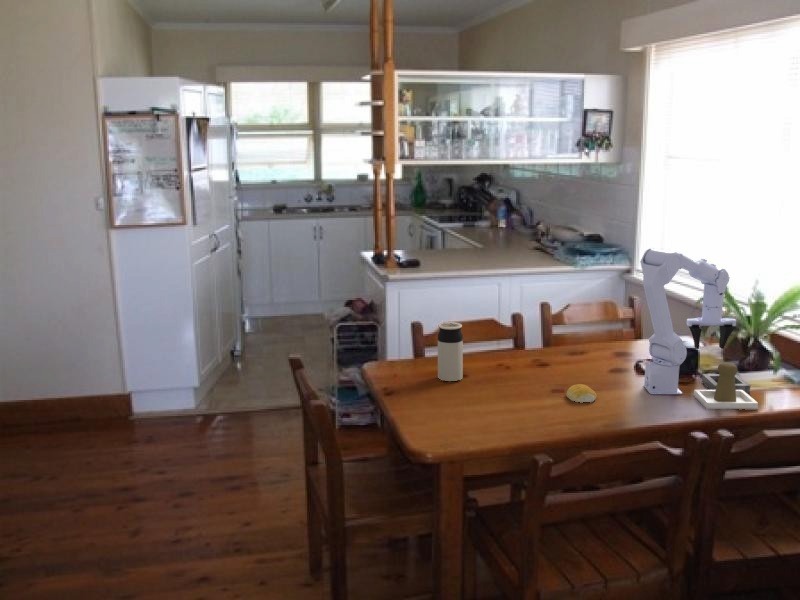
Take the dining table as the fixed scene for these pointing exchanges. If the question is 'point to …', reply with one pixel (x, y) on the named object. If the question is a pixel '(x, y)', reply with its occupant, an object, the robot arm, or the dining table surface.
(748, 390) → the holder
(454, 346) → the travel mug
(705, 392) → the tray
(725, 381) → the cork
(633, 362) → the dining table surface
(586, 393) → the bread roll
